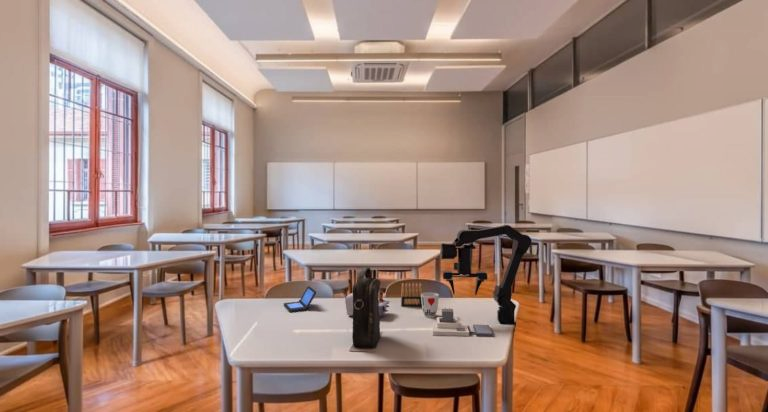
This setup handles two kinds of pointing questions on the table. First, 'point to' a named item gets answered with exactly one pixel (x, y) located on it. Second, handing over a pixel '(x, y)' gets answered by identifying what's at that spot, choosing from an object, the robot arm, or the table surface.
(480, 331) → the phone
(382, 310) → the cell model
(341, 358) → the table surface
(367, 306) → the shoulder bag
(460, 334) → the outlet plate
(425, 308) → the cup
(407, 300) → the ammunition clip
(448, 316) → the charger block
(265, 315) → the table surface
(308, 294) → the handheld game console
